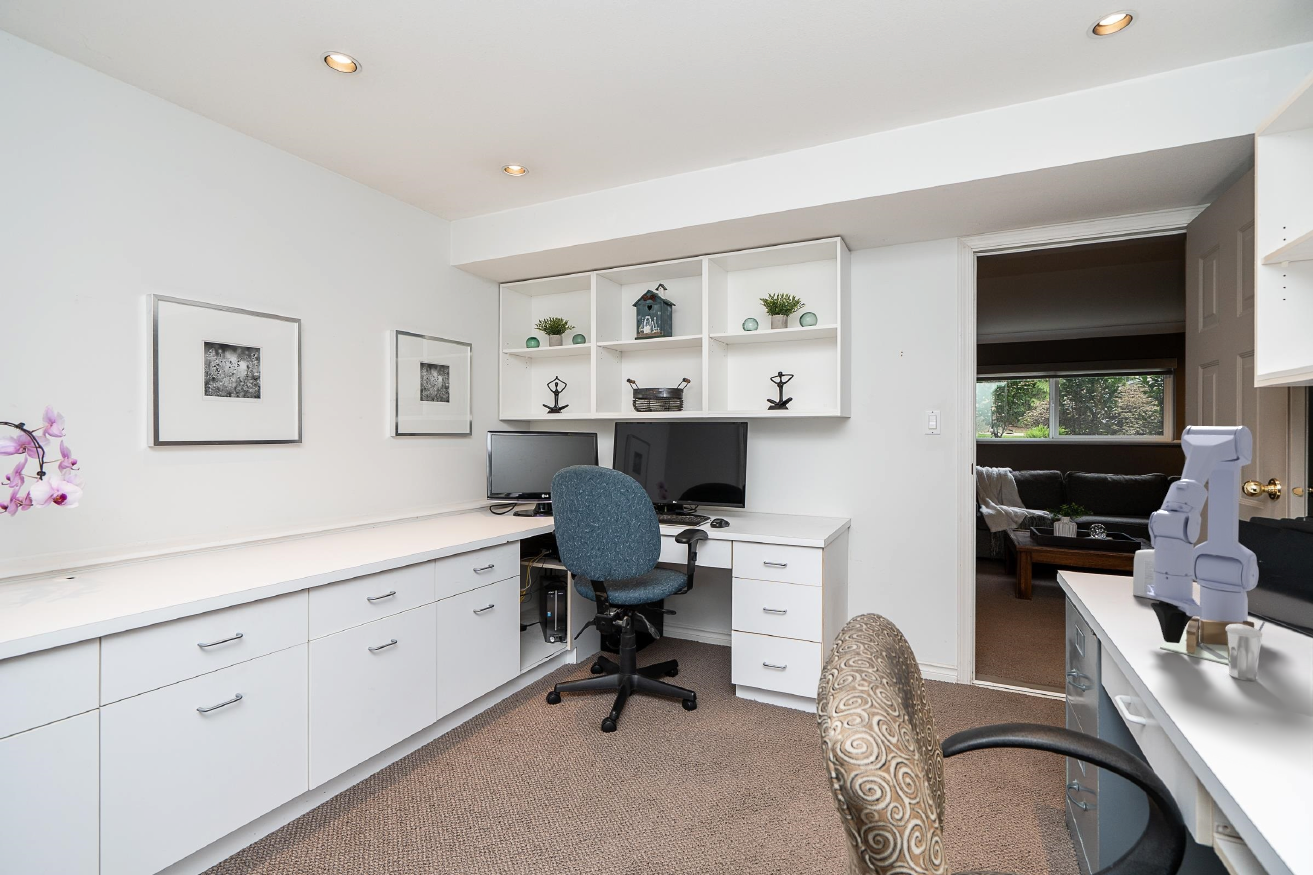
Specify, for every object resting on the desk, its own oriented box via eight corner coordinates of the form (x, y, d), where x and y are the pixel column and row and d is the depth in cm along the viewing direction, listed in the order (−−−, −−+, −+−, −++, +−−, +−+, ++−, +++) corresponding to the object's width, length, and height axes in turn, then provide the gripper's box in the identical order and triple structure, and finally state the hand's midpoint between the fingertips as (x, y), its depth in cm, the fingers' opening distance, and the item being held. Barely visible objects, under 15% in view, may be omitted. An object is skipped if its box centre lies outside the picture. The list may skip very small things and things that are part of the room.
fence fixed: (1186, 641, 120) (1187, 616, 120) (1250, 646, 118) (1250, 620, 117) (1191, 643, 119) (1191, 619, 119) (1255, 649, 116) (1256, 623, 116)
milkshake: (1274, 684, 100) (1275, 625, 100) (1237, 681, 101) (1238, 623, 101) (1253, 673, 105) (1254, 617, 105) (1217, 670, 106) (1219, 615, 106)
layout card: (1184, 632, 125) (1184, 630, 125) (1257, 648, 116) (1257, 646, 116) (1160, 648, 117) (1159, 646, 117) (1236, 666, 108) (1236, 665, 108)
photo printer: (1187, 602, 146) (1188, 552, 146) (1182, 605, 144) (1183, 555, 143) (1136, 593, 155) (1136, 545, 154) (1130, 595, 152) (1131, 547, 152)
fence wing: (1189, 640, 119) (1189, 620, 119) (1197, 641, 118) (1198, 621, 118) (1185, 651, 113) (1186, 630, 113) (1195, 652, 112) (1195, 632, 112)
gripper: (1129, 562, 123) (1128, 627, 124) (1170, 580, 109) (1168, 653, 110) (1170, 564, 121) (1169, 630, 122) (1216, 583, 107) (1215, 657, 108)
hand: (1171, 641), depth 115 cm, fingers closed
